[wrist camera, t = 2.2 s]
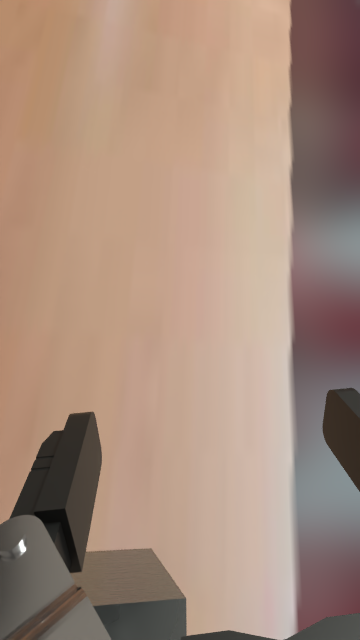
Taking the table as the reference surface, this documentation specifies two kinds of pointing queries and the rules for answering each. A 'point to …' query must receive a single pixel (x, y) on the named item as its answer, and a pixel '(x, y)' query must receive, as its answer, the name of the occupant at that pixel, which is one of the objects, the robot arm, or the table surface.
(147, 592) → the box
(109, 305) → the table surface
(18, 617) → the robot arm
